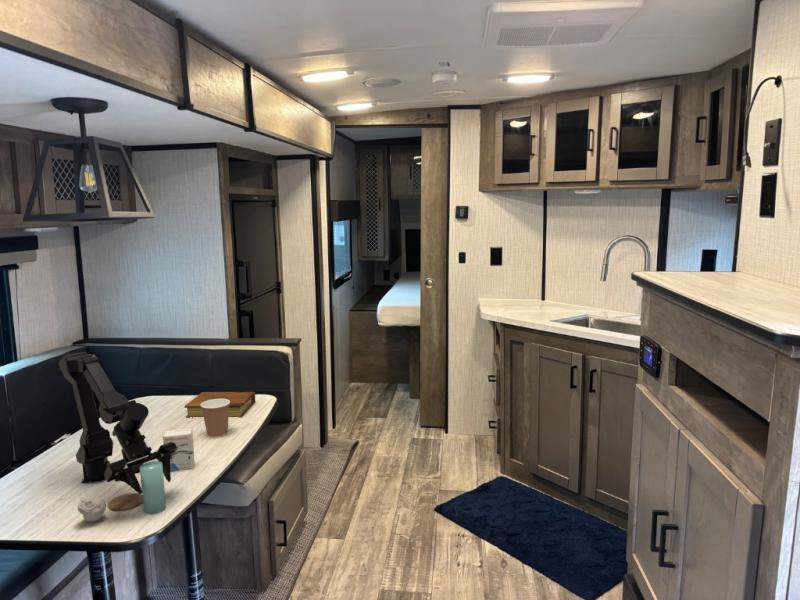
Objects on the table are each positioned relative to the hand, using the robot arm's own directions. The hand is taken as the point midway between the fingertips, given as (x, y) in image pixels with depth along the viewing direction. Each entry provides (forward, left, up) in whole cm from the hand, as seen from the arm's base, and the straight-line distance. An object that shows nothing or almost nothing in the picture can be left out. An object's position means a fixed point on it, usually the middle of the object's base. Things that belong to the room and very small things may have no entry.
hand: (155, 487), depth 150 cm
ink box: (-1, +28, -7) cm, 28 cm away
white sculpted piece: (-16, -2, -7) cm, 17 cm away
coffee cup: (+6, +55, -7) cm, 55 cm away
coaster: (-10, +6, -7) cm, 13 cm away
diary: (+3, +83, -7) cm, 83 cm away
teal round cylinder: (-1, +1, -7) cm, 7 cm away
